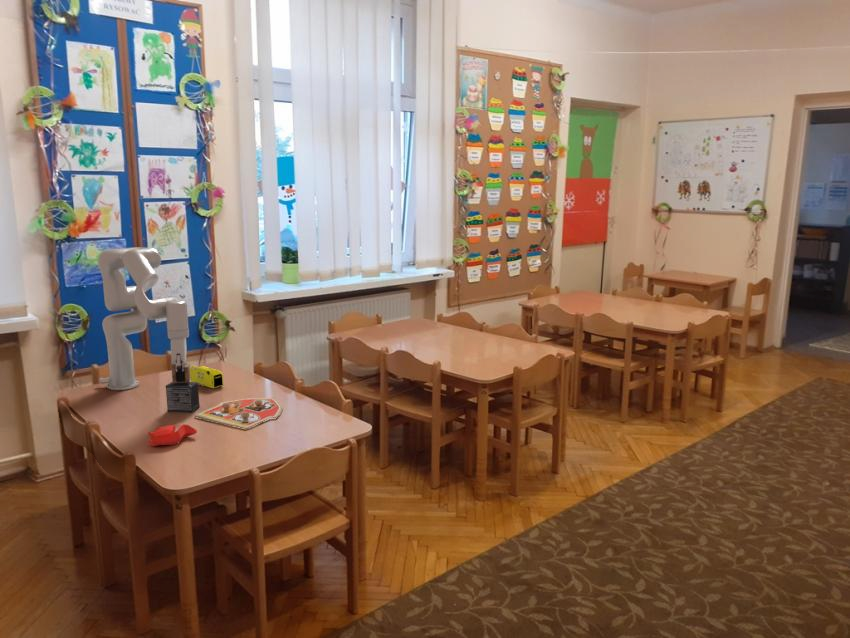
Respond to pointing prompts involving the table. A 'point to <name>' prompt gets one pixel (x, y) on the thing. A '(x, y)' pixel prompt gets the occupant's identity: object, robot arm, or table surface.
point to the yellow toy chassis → (206, 376)
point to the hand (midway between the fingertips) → (181, 378)
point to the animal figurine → (170, 435)
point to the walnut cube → (187, 373)
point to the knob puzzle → (243, 412)
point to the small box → (182, 397)
